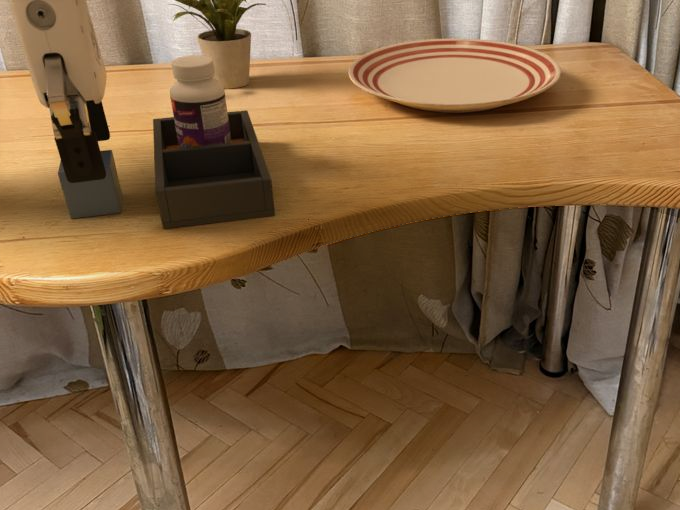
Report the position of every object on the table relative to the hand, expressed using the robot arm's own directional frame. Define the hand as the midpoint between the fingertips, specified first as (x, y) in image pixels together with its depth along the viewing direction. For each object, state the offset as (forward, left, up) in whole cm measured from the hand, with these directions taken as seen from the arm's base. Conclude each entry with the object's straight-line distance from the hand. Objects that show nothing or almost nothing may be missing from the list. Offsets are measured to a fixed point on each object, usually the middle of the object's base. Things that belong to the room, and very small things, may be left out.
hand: (90, 159), depth 68 cm
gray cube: (-1, 0, -5) cm, 5 cm away
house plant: (+15, +37, -5) cm, 41 cm away
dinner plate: (+43, +24, -5) cm, 50 cm away
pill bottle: (+10, +8, -4) cm, 14 cm away
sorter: (+10, +3, -5) cm, 12 cm away
